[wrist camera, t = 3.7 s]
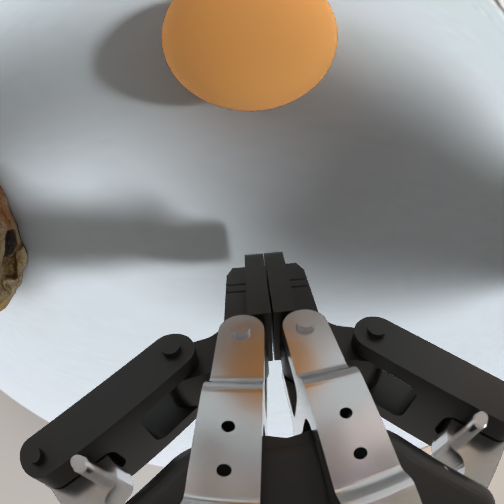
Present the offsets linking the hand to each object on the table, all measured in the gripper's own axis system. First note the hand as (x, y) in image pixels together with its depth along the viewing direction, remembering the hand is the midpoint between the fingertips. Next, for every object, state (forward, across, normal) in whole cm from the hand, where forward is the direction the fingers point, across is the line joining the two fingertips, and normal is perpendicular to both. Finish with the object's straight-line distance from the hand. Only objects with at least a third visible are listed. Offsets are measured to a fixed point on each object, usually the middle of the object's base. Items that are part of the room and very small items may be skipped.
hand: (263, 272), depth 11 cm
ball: (0, 0, -9) cm, 9 cm away
